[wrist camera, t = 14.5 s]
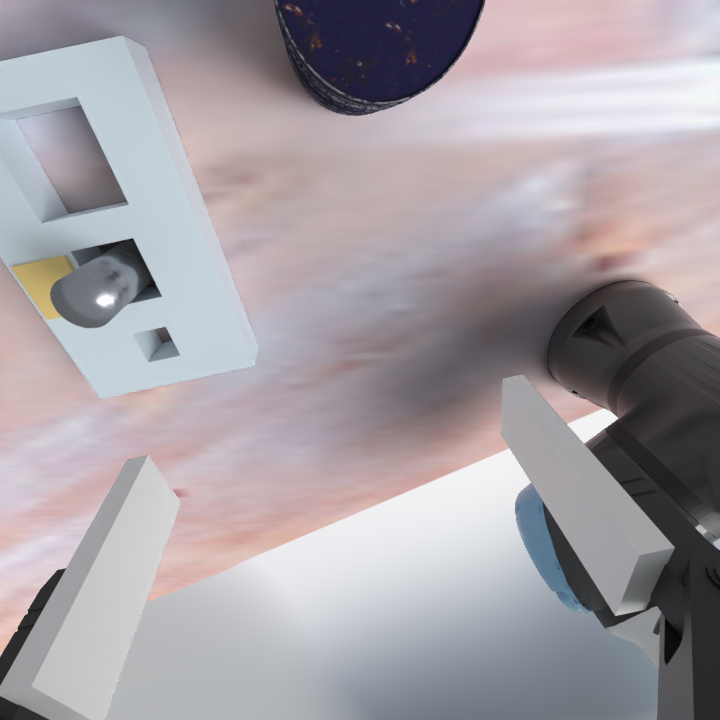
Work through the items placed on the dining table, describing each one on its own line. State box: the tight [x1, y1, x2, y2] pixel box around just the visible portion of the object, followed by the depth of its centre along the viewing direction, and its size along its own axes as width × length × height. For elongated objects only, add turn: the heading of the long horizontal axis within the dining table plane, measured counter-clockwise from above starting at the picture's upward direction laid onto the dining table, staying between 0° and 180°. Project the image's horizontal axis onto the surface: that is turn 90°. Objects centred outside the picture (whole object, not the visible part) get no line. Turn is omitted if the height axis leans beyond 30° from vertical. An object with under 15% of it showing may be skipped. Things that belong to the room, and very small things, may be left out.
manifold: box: [0, 35, 259, 399], centre depth 32 cm, size 16×26×4 cm, turn 10°
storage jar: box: [274, 0, 485, 116], centre depth 22 cm, size 10×10×15 cm
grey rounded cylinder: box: [50, 240, 154, 328], centre depth 31 cm, size 4×4×10 cm
